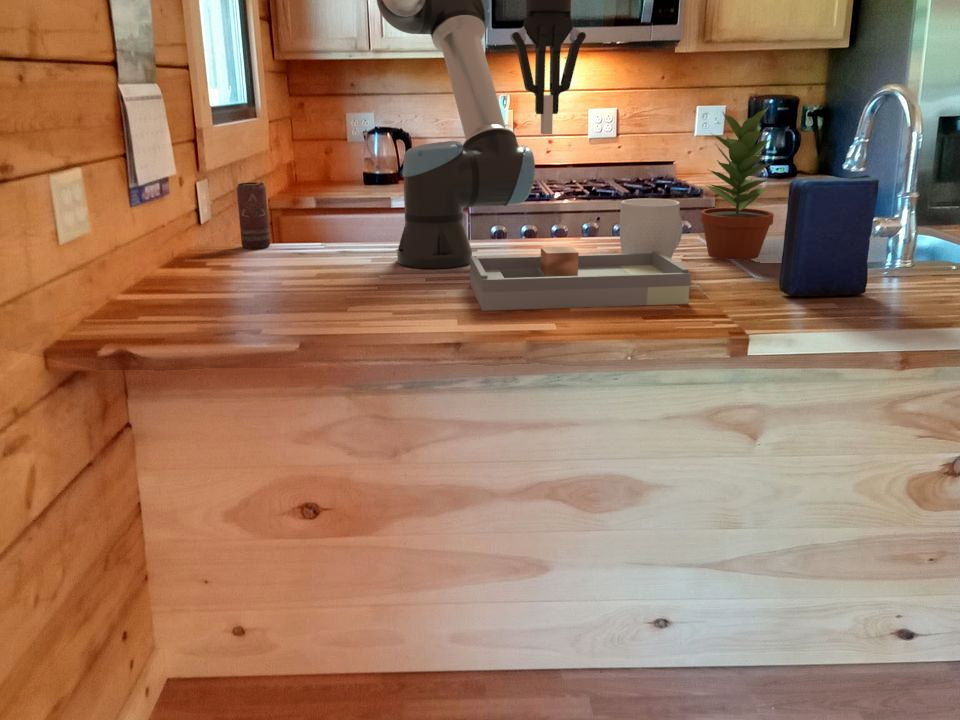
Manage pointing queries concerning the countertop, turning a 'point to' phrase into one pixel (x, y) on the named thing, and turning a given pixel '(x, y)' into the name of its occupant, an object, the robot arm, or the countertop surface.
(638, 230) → the mug
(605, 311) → the countertop surface
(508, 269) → the box
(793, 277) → the book
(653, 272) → the pad
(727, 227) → the potted plant
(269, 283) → the countertop surface
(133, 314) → the countertop surface
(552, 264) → the block
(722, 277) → the countertop surface
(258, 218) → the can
